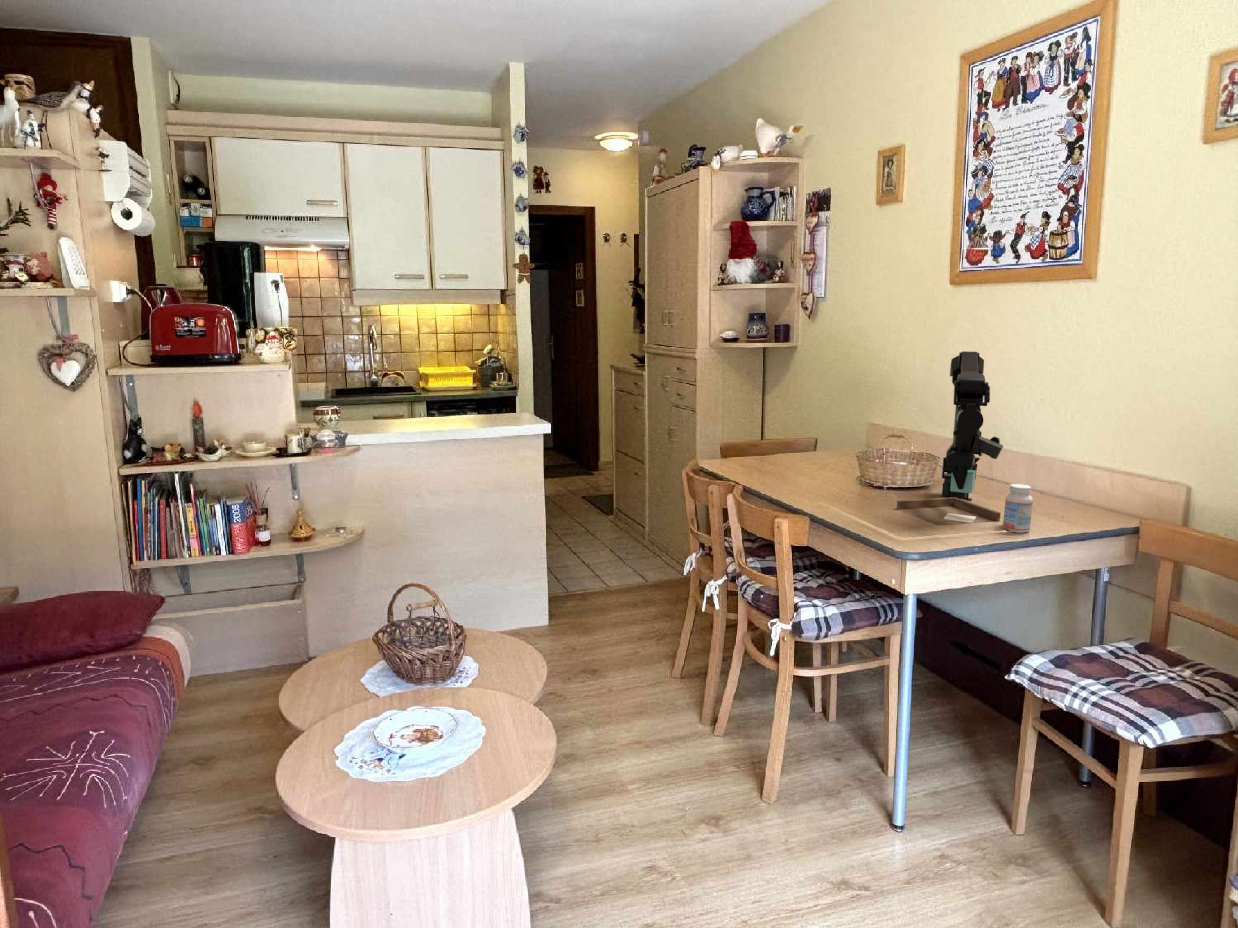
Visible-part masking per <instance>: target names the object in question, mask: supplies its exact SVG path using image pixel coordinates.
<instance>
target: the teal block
mask: <svg viewBox="0 0 1238 928" xmlns="http://www.w3.org/2000/svg"><path fill="white" fill-rule="evenodd" d="M975 474H976V475H977V471H975V470H968V473H967V477H966V481H965V484H964V488H963V489H958V487H957V484H956V481H955V478H954V476H953V473H952V475H951V487H950V491H954V492H964V493H969V494H972V493H973V492H974V490H975V486H976V485H975V484H976V479H975Z"/></svg>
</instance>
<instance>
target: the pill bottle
mask: <svg viewBox="0 0 1238 928" xmlns="http://www.w3.org/2000/svg"><path fill="white" fill-rule="evenodd" d="M1031 492H1032V487H1031V486H1030V485H1027V484H1020V483H1013V484H1010V485H1009V493H1008V494H1007V495H1006V496H1005V502H1004V513H1003V521H1002V527H1003V528H1004V530H1005V531H1007V532H1011V533H1014V532H1016V533H1015V534H1019V533H1020V534H1022V533H1025V532H1026V533H1029V532H1030V531H1031V522H1032V512H1033V506H1034V498H1033V497H1032V496H1031V494H1030V493H1031Z"/></svg>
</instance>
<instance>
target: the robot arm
mask: <svg viewBox="0 0 1238 928" xmlns="http://www.w3.org/2000/svg"><path fill="white" fill-rule="evenodd" d="M984 368H985V359H983V358H982V357H981V356H980V352H977V351H965V350H964V351H962V352H959V354H958V355H956V356H955V357H953V358H951V360H950V368H949V377H951V382H952V385H953V405H954V406H955V410H954V411H955V412H954V422H953V425H954V426H953V433H952V435H953V436H952V443H951V444H950V446H949V447H948V448H947V450H946V451H945V457H943V458H942V465H941V479H943V483H942V489H941V490H942V491H941V498H950V497H956V498H959V499H962V500H965V501H968V502H970V501H971V502H972V501H973V498H971V497H970V495H969V494H970V493H964V492H954V491H950V487H951V475H952V473H953V476H954V478H955V481H956V484H957V487H958V489H963V488H964V484H965V481H966V477H967V473H968V470H975V471H976V472H977V470H978V464H977V463H978V462H979V461H980V460H981V458H980V457H982V456H983V455H986V456H989V457H990V458H991V459H994V460H997V459H998V458H999V456H1000V453H1001V452H1002V450H1003V448H1004V445H1003V444H1002V443H1001V440H1000V439H1001V438H999V437H997V436H992V437H991V438H990V439H989V438H986V437H984V436H982V430H980V428H982V426H983V425H984V415H983V414H982V408H981V407H987V406H988V404H989V403H990V401H991V386H990V385H989V382H988V381H986V378H985V377H986V376H985V375H984V371H985V370H984ZM976 455H978V456H979V457H976ZM976 476H977V473H976V474H975V480H977V478H976Z"/></svg>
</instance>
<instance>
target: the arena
mask: <svg viewBox="0 0 1238 928" xmlns="http://www.w3.org/2000/svg"><path fill="white" fill-rule="evenodd" d="M896 509H897V510H898V511H901V512H903V513H906V514H909V515H911V516H913V517H915V518H918V519H920V520H923V521H926V522H928V523H931V524H933V525H935V526H952V525H964V524H965V525H966V524H979V523H980V524H981V523H994V522H995V523H996V522H1000V521H1001V512H999V511H998V510H994V509H990V508H989V507H985V506H981V505H979V504H976V503H973V502H972V501H971V502H970V501H967V500H964V499H959V498H956V497H950V498H945V497H940V498H939V497H938V498H937V497H936V498H935V497H934V498H922V499H921V498H919V499H905V500H904V499H903V500H896Z"/></svg>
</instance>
